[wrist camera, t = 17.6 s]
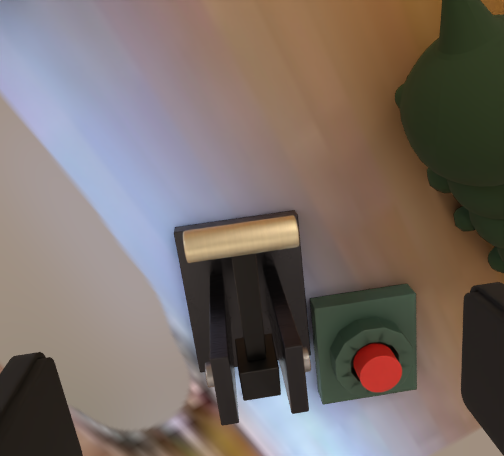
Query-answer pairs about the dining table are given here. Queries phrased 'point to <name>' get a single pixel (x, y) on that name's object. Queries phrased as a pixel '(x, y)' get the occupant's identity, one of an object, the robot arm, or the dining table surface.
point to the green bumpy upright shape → (462, 117)
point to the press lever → (247, 290)
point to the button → (377, 367)
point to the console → (362, 338)
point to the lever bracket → (229, 321)
